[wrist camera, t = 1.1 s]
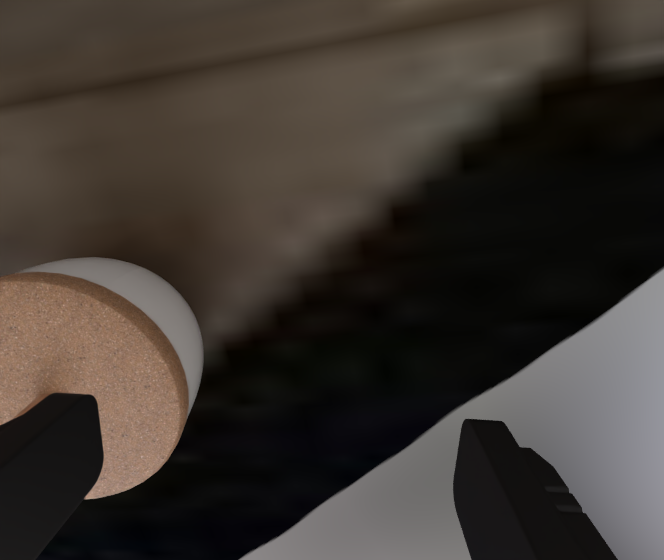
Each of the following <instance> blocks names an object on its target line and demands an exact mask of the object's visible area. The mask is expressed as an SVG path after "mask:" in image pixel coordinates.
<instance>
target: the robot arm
mask: <svg viewBox="0 0 664 560" xmlns="http://www.w3.org/2000/svg"><path fill="white" fill-rule="evenodd" d="M103 461H104V451H103V443H102V435H101V427H100V419H99V411H98V404H97V401H96V399H95V397H94V396H93V395H90V394H74V393H58V392H56V393H52V394H50V395H48V396H47V397H45V398H44V399H43V400H41V401H40V402H39V403H38V404H36V405H35V406H34V407H32V408H31V409H30V410H28V411H27V412H26V413H24V414H23V415H21V416H19V417H17V418H14V419H12V420H10V421H8V422H6V423H4V424H2V425H0V560H35V559H36V558H37V557H38V556H39V554H40V553H41V552H42V551H43V549H44V548H45V547H46V546H47V544H48V543H49V542H50V541H51V539H52V538H53V537H54V536H55V534H56V533H57V532H58V531H59V529H60V528H61V527H62V526H63V524H64V523H65V522H66V521H67V519H68V518H69V517H70V516H71V514H72V513H73V512H74V511H75V509H76V508H77V507H78V505H79V504H80V503H81V502H82V500H83V499H84V498H85V497H86V495H87V494H88V493H89V492H90V490H91V489H92V488H93V487H94V485H95V484H96V482H97V480H98V478H99V476H100V473H101V470H102V467H103ZM453 482H454V483H453V493H454V502H455V508H456V512H457V515H458V518H459V521H460V525H461V528H462V530H463V534H464V537H465V540H466V543H467V547H468V550H469V553H470V556H471V559H472V560H618V559H617V558H616V556H615V555H614V554H613V552H612V551H611V549H610V548H609V547H608V545H607V544H606V542H605V541H604V539H603V538H602V536H601V535H600V533H599V532H598V531H597V529H596V528H595V526H594V525H593V523H592V522H591V521H590V519H589V518H588V516H587V515H586V514H585V513H583V512H582V507H581V506H580V505H579V503H578V502H577V500H576V499H575V497H574V496H573V494H571V493H569V489H568V487H567V486H566V484H565V483H564V481H563V480H562V479H561V477H560V476H559V474H558V473H557V471H556V470H555V468H554V467H553V466H552V465H551V464H549V463H548V462H547V461H546V460H544V459H543V458H542V457H541V456H540V455H538V454H537V453H536V452H535V451H533V450H532V449H531V448H521V447H519V445H518V444H517V442H516V441H515V439H514V437H513V436H512V434H511V432H510V431H509V429H508V428H507V426H506V425H505V423H504V422H502V421H493V420H477V419H465V420H464V422H463V424H462V428H461V434H460V441H459V447H458V454H457V460H456V468H455V473H454V481H453Z"/></svg>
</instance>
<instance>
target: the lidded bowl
mask: <svg viewBox="0 0 664 560" xmlns="http://www.w3.org/2000/svg"><path fill="white" fill-rule="evenodd" d="M203 361H204V354H203V342H202V337H201V332H200V328H199V325H198V322H197V320H196V317H195V315H194V313H193V312H192V310H191V308H190V306H189V305H188V303H187V302H186V301H185V299H184V298H183V297H182V296H181V294H180V293H179V292H178V291H177V290H176V289H175V288H174V287H173V286H172V285H171V284H169V283H168V282H167V281H165V280H164V279H162V278H161V277H160V276H158V275H156V274H155V273H153V272H151V271H149V270H147V269H145V268H143V267H140V266H138V265H135V264H132V263H128V262H124V261H120V260H115V259H110V258H99V257H88V258H73V259H64V260H59V261H55V262H50V263H46V264H42V265H37V266H33V267H30V268H27V269H25V270H22V271H19V272H17V273H14V274H11V275H6V276H2V277H0V425H2V424H4V423H6V422H8V421H10V420H12V419H14V418H17V417H19V416H21V415H23V414H24V413H26V412H27V411H28V410H30V409H31V408H32V407H34V406H35V405H36V404H38V403H39V402H40V401H41V400H43V399H44V398H45V397H47V396H48V395H50V394H52V393H56V392H58V393H74V394H90V395H93V396H94V397H95V399H96V401H97V404H98V411H99V419H100V427H101V435H102V443H103V451H104V461H103V467H102V470H101V473H100V476H99V478H98V480H97V482H96V484H95V485H94V487H93V488H92V489H91V490H90V492H89V493H88V494H87V495H86V497H85V498H84V499H95V498H100V497H105V496H110V495H113V494H116V493H119V492H122V491H126V490H128V489H130V488H132V487H134V486H136V485H138V484H140V483H142V482H144V481H145V480H146V479H148V478H149V477H150V476H152V475H153V474H154V473H156V472H157V471H158V470H159V469H160V468H161V467H162V465H163V464H164V463H165V462H166V461H167V460H168V458H169V457H170V455H171V453H172V452H173V450H174V449H175V447H176V445H177V443H178V441H179V439H180V437H181V434H182V431H183V429H184V426H185V423H186V420H187V417H188V415H189V413H190V411H191V408H192V406H193V403H194V401H195V398H196V395H197V392H198V389H199V385H200V381H201V375H202V370H203Z"/></svg>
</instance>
